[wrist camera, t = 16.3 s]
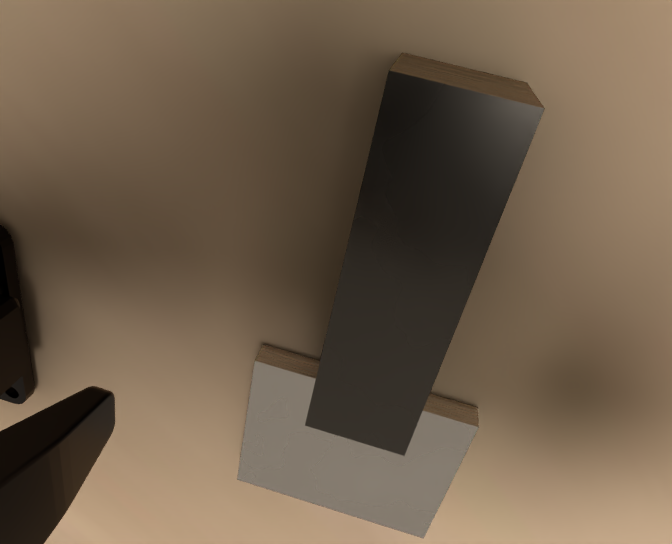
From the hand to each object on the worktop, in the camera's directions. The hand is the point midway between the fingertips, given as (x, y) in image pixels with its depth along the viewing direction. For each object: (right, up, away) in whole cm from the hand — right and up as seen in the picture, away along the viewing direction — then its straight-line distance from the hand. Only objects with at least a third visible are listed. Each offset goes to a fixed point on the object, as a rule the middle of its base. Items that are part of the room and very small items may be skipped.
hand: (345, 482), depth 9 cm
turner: (+1, +2, +4) cm, 5 cm away
